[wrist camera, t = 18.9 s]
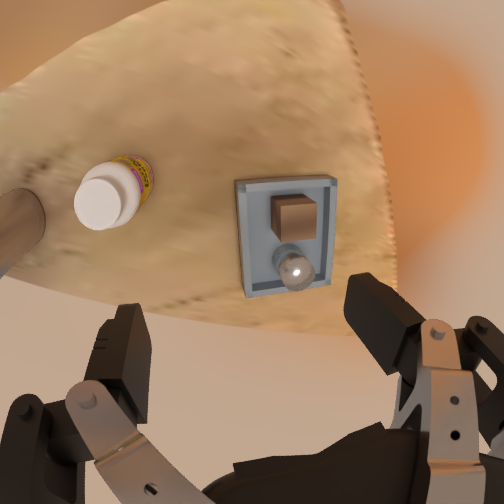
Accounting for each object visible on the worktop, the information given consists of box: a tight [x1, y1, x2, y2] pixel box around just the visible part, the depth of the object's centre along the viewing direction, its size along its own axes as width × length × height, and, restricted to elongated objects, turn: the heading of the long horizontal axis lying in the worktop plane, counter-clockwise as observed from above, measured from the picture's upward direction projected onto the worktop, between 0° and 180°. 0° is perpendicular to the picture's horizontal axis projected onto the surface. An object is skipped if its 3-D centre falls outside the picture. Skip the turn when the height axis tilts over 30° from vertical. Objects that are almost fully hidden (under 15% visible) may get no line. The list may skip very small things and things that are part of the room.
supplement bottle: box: [74, 155, 153, 230], centre depth 27 cm, size 7×7×13 cm
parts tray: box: [235, 175, 337, 298], centre depth 38 cm, size 13×16×3 cm
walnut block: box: [270, 194, 317, 242], centre depth 35 cm, size 4×4×5 cm
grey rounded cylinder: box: [272, 244, 315, 291], centre depth 38 cm, size 4×4×6 cm
